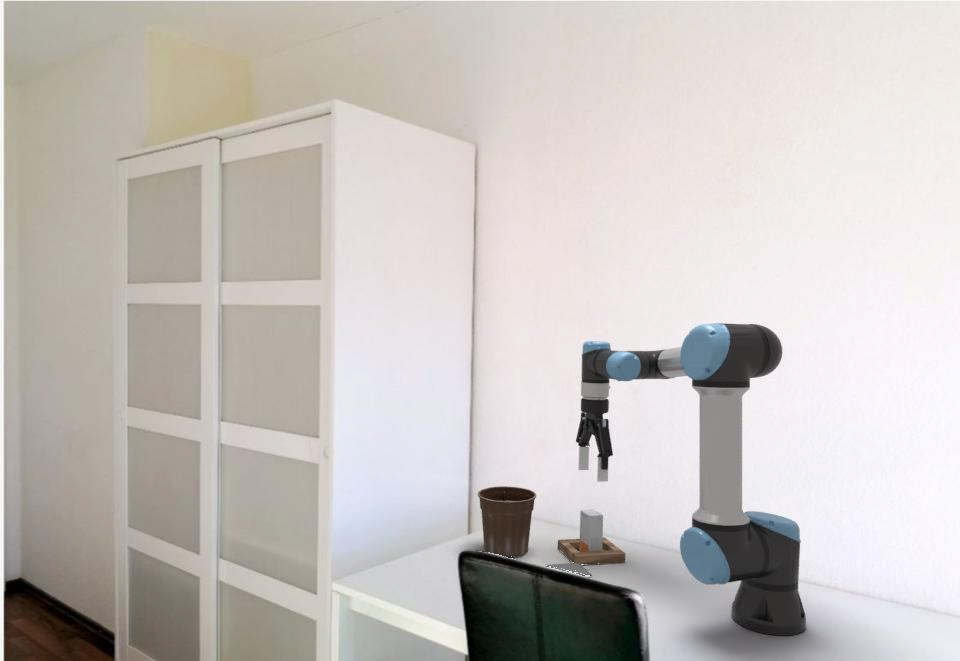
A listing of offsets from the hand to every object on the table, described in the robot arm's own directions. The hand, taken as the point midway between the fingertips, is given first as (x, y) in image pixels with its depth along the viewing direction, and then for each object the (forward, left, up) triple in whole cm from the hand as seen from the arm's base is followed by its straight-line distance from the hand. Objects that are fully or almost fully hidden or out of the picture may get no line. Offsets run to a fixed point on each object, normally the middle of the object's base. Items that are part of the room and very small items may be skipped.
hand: (592, 475), depth 202 cm
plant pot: (+7, +22, -22) cm, 32 cm away
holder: (0, 0, -22) cm, 22 cm away
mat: (-11, +11, -22) cm, 27 cm away
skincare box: (0, 0, -22) cm, 22 cm away
